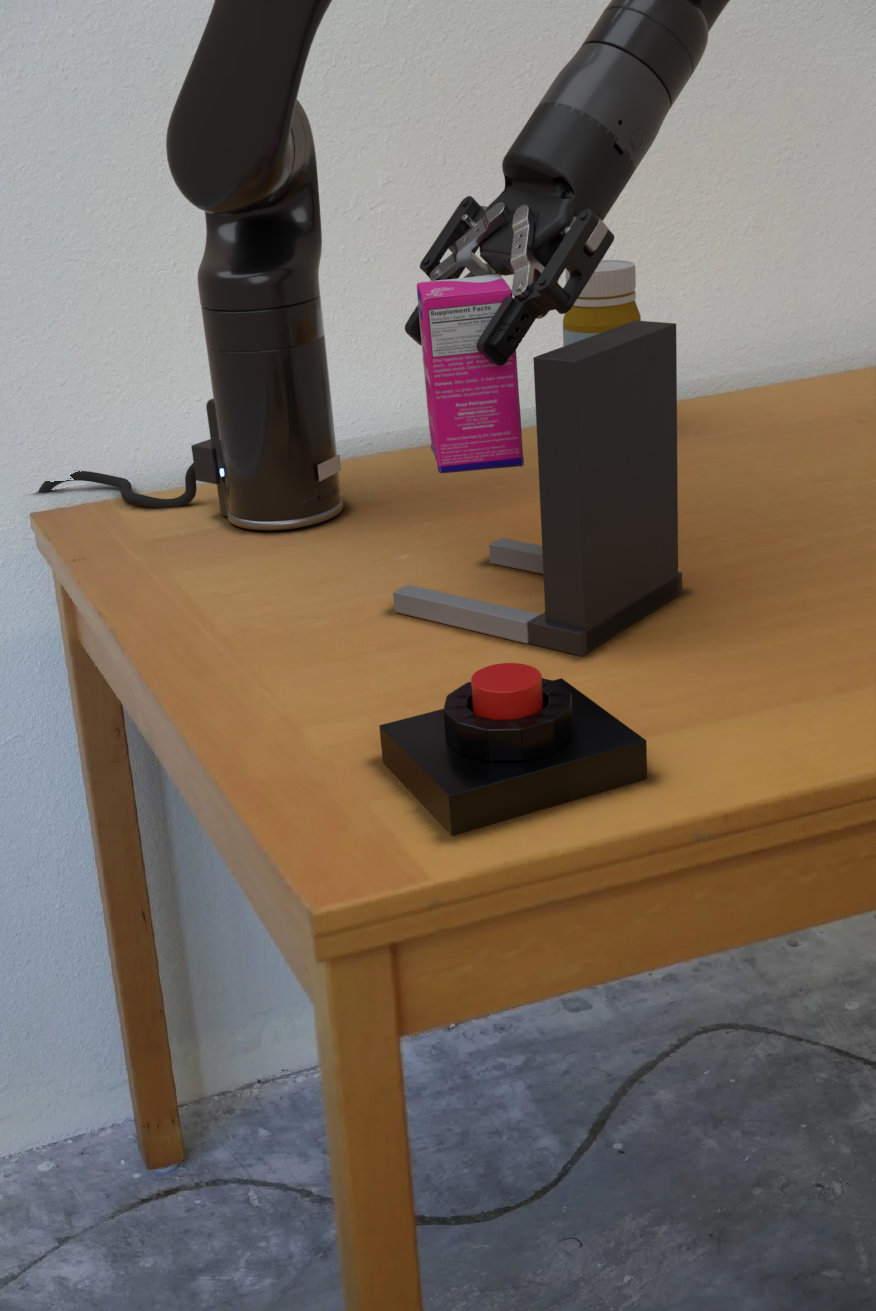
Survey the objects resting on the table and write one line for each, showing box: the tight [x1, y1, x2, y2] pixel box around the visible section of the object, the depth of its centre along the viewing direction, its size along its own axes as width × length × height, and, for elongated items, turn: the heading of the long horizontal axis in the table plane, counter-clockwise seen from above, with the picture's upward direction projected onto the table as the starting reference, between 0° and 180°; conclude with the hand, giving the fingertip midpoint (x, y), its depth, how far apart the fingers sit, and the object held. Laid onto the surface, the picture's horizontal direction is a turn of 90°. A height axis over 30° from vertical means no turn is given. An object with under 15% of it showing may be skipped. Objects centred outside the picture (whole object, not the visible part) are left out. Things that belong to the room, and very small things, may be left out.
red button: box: [470, 662, 543, 720], centre depth 75 cm, size 4×4×2 cm
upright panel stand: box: [392, 320, 683, 657], centre depth 95 cm, size 15×12×18 cm
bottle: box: [562, 259, 642, 347], centre depth 134 cm, size 7×7×15 cm
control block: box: [379, 677, 648, 836], centre depth 76 cm, size 11×9×4 cm
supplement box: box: [416, 274, 525, 474], centre depth 95 cm, size 6×6×12 cm
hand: (451, 348), depth 94 cm, fingers closed on supplement box, 7 cm apart
